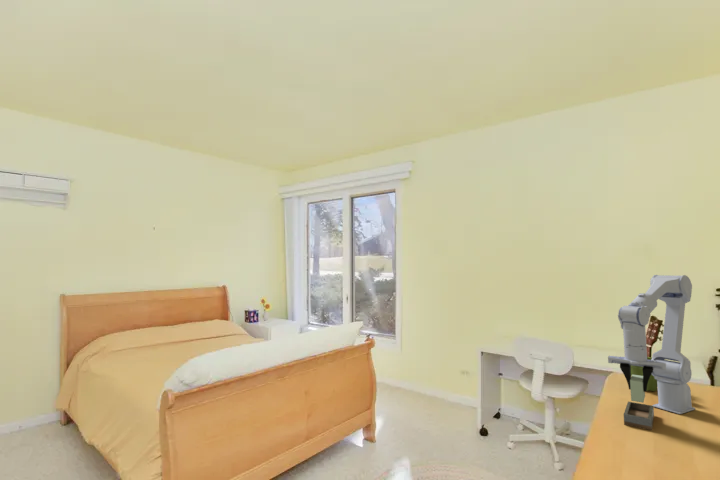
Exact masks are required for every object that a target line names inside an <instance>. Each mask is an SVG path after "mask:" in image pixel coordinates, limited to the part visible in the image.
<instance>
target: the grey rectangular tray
mask: <svg viewBox="0 0 720 480" xmlns="http://www.w3.org/2000/svg"><path fill="white" fill-rule="evenodd" d="M654 409H655V407H653V405H651V404H646V403H645V404H644V403H641V402H635V401H627V404H626V406H625V409H624V412H623V425H624V426H628V427H633V428H634V427H635V428H638V429H643V428H644V430H649V431H653V427H654V426H653V424H654V419H655V418H654V417H655V414H654V413H655V411H654Z"/></svg>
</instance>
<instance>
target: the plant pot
mask: <svg viewBox="0 0 720 480" xmlns="http://www.w3.org/2000/svg"><path fill="white" fill-rule="evenodd" d="M647 359H648V360H651V359H652V357H650V356H647ZM642 369H643V367H641V366H633V365H631V376H632V375H640V376H643V370H642ZM648 391H650V392H657V391H658V387H657V380H656V379H655V377H654V376H653V375H652V374H651V376H650V378H649V380H648V384H647V392H648Z"/></svg>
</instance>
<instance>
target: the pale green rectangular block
mask: <svg viewBox="0 0 720 480" xmlns="http://www.w3.org/2000/svg"><path fill="white" fill-rule="evenodd" d="M630 389H631V390H630ZM630 389H629V390H630V400H631V401H630V402H635V403H641V404H644V403H645V397H646V392H644V390H643V376H640V375H632V376H631V379H630Z"/></svg>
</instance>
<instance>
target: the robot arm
mask: <svg viewBox="0 0 720 480" xmlns="http://www.w3.org/2000/svg"><path fill="white" fill-rule="evenodd" d="M691 281H692V280H691V279H690V277H689V276H688V275H686V274H684V275H683V274H682V275H664V274H663V275H662V274H661V275H660V274H659V275H658V274H653V275H652V277H651V278H650V281H649V282H650V285H649V287H648V289H647V290H646V291H645V293H644V292H643V293H639V294H637V296H636V297H635V298H634V299H633V300H631V302H630V303H629V304H628V305H623V306H622V307H620V308H619V309H618V312H617V313H618V314H617V318H618V321H619V323H620V328H621V330H622V332H623V334H622V335H623V349H624V350H623V351H624V352H623V353H624V356H617V355H615V356H614V355H608V357H607V363H608V364H617V365H618V364H619V368H620V370H621V372H622V374H623V375H624V378H625V380H626V383H627V386H628V389H629V391H631V389H630V379H631V365H633V366H641V367H643V369H642V370H643V390H644V392H645V393H646V392H648V391H647V384H648V380H649V378H650V376H651V374H652V375H653V376H654V377H655V379H656V380H657V398H658V399H657V400H658V402H657V403H655V404H652V406H653V407H654V408H658V409H660V410H664V411H667V412H671V413H674V414H678V415H682V414H685V413H689V412H691V411H695V410H696V407H694V406H692V393H691V388H690V386H689V384H688V383H689V382H690V381H691V378H692V367H691V365H692V364H691V361H690V359H689V358H687V357H686V356H685V355H684V354H683V353H682V352H681V351H682V350H681V349H682V343H683V342H682V340H683V339H682V338H683V330H684V320H685V312H686V311H685V310H686V304H687V303H689V302H691V300H692V292H693V284H692V282H691ZM658 300H659V301H662V302H664V303H665V305H666V307H665V314H664V315H665V316H664V324H663V332H662V341H661V342H662V343H661V349H659V350H657V351H655V352H653V353H652V357H651V358H652V359H651V360H648V359H647V357H648V350H647V349H648V348H647V334H646V333H647V332H646V326H647V325H648V324H649V320H650V318H651V313H652V312H653V311H654V310H655V309H656V307H658Z"/></svg>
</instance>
